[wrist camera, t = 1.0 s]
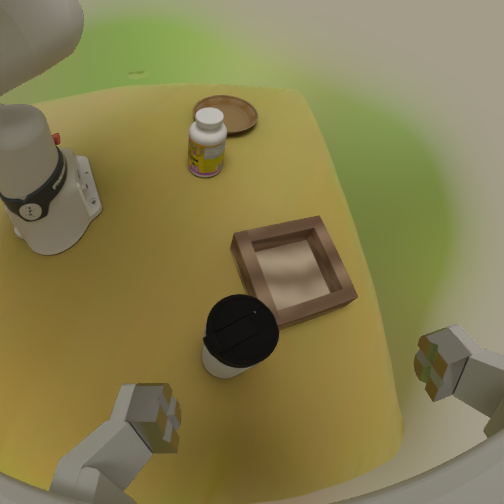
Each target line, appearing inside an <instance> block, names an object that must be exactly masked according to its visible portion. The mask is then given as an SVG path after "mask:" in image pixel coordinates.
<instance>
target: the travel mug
mask: <svg viewBox="0 0 504 504" xmlns="http://www.w3.org/2000/svg"><path fill="white" fill-rule="evenodd" d="M278 339H279V329H278V325H277V323H276V319H275V317H274V315H273V313H272V312H271V310H270V309H269V308H268V307H267V306H265V304H264V303H263V302H261V301H260V300H259V299H258V298H255V297H253V296H249V295H244V294H237V295H231V296H228V297H225V298H223V299H222V300H220V301H219V302H218V303H217V304H216V305H214V307H213V308H212V310H211V311H210V313H209V316H208V319H207V324H206V328H205V334H204V338H203V341H204V342H203V351H202V362H203V365H204V367H205V369H206V370H207V371H208V372H209V373H210V374H211V375H213V376H214V377H217V378H221V379H228V378H232V377H234V376H236V375H238V374H240V373H242V372H244V371H246V370H248V369H249V368H251V367H253V366H255V365H257V364H258V363H260V362H261V361H263V360H264V359H266V358H267V357H268V356H269V355H270V354H271V353H272V352H273V351H274V349H275V347H276V345H277V342H278Z"/></svg>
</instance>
